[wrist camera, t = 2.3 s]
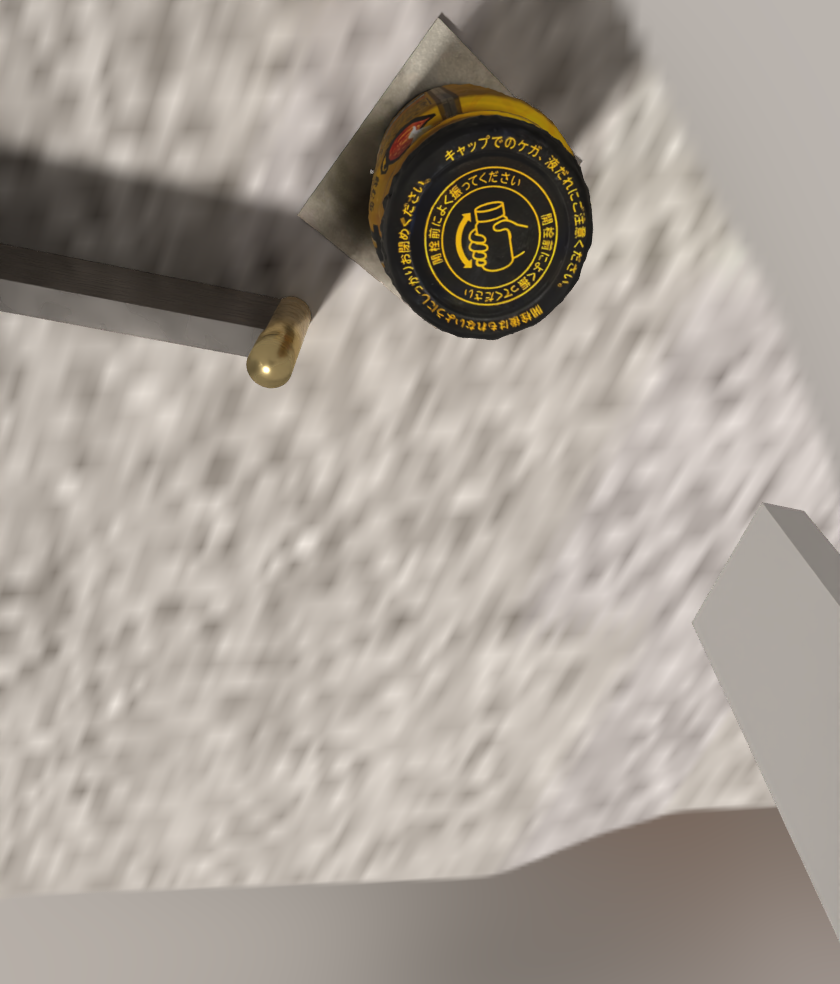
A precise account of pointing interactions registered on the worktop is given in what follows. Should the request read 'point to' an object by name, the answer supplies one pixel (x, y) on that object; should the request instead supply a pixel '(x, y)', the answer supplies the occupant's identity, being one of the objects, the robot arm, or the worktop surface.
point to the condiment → (459, 197)
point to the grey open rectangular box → (157, 309)
